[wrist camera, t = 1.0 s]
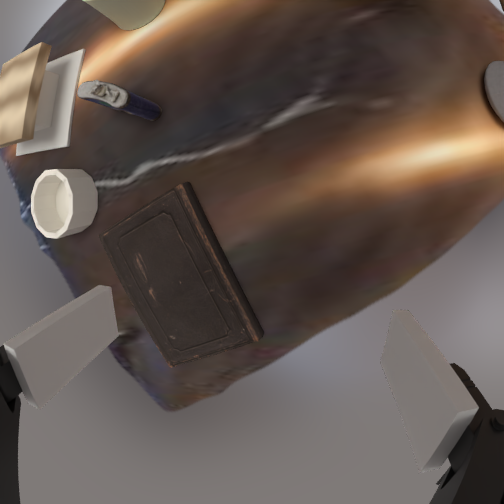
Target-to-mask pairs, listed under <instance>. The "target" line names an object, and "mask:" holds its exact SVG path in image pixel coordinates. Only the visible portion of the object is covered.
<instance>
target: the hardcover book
mask: <svg viewBox="0 0 504 504" xmlns="http://www.w3.org/2000/svg"><path fill="white" fill-rule="evenodd" d="M98 236H99V238H100V240H101V242H102V244H103V247H104V249H105V251H106V253H107V255H108V257H109V260H110V262H111V264H112V266H113V268H114V270H115V272H116V274H117V276H118V278H119V280H120V282H121V284H122V286H123V288H124V290H125V291H126V293H127V295H128V297H129V299H130V301H131V303H132V304H133V306H134V308H135V310H136V312H137V313H138V315H139V317H140V319H141V321H142V322H143V324H144V326H145V327H146V329H147V331H148V333H149V334H150V336H151V338H152V339H153V341H154V342H155V344H156V346H157V347H158V349H159V351H160V352H161V354H162V355H163V357H164V358H165V360H166V362H167V363H168V365H169V366H170V367H174V366H177V365H181V364H184V363H188V362H191V361H195V360H198V359H202V358H205V357H208V356H212V355H215V354H218V353H221V352H225V351H228V350H231V349H234V348H237V347H240V346H243V345H246V344H249V343H252V342H255V341H258V340H260V339H261V338H262V337H263V334H264V332H263V330H262V329H261V327H260V325H259V323H258V321H257V319H256V317H255V315H254V313H253V311H252V309H251V307H250V305H249V303H248V301H247V299H246V297H245V295H244V293H243V291H242V289H241V287H240V285H239V283H238V281H237V279H236V277H235V275H234V273H233V271H232V269H231V267H230V265H229V263H228V261H227V259H226V257H225V255H224V253H223V251H222V249H221V247H220V245H219V243H218V241H217V239H216V237H215V235H214V233H213V231H212V229H211V227H210V225H209V223H208V220H207V218H206V216H205V214H204V212H203V210H202V208H201V206H200V204H199V202H198V200H197V197H196V195H195V193H194V191H193V189H192V187H191V185H190V183H189V182H185V183H183V184H180V185H179V186H177V187H175V188H173V189H172V190H170V191H168V192H166V193H165V194H163V195H161V196H160V197H158V198H156V199H155V200H153V201H151V202H150V203H148V204H146V205H145V206H143V207H141V208H140V209H138V210H137V211H135V212H133V213H132V214H130V215H129V216H127V217H125V218H124V219H122V220H121V221H119V222H118V223H116V224H115V225H113V226H112V227H110V228H109V229H107V230H106V231H104V232H103V233H101V234H100V235H98Z"/></svg>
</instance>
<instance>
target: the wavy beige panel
mask: <svg viewBox="0 0 504 504" xmlns="http://www.w3.org/2000/svg"><path fill="white" fill-rule="evenodd" d="M51 47H52V46H50V45H47V44H45V43H43V42H41V43H39V44H37V45H35V46H34V47H32V48H30V49H28V50H26V51H24V52H23V53H21V54H19V55H18V56H16V57H14V58H13V59H11V60H9V61H8V62H6V63H5V64H3V67H2V70H1V74H0V148H3V147H6V146H10V145H13V144H17V143H20V142H24V141H28V140H32V139H33V137H34V129H35V121H36V114H37V108H38V102H39V96H40V91H41V86H42V82H43V77H44V73H45V69H46V65H47V61H48V57H49V53H50V50H51Z"/></svg>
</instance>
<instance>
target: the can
mask: <svg viewBox="0 0 504 504" xmlns="http://www.w3.org/2000/svg"><path fill="white" fill-rule="evenodd" d="M82 1H85V2H86V3H88V4H89V5H91V6H92V7H94V8H95V9H97V10H98V11H99V12H101V13H102V14H104V15H105V16H106V17H108V18H109V19H110V20H112V21H113V22H114V23H115V24H117V26H118V27H119V28H121V29H123V30H134V29H138V28H140V27H142V26H144V25H146V24H148V23H149V22H151V21H152V20H153V19H154V18H155V17H156V16H157V15H158V14H159V13H160V12H161V10H162V9H163V6H164V4H165V0H82Z"/></svg>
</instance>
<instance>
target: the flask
mask: <svg viewBox="0 0 504 504" xmlns="http://www.w3.org/2000/svg"><path fill="white" fill-rule="evenodd" d="M77 93H78V97H79V98H81V99H84V100H88V101H92V102H95V103H98V104H101V105H104V106H107V107H110V108H112V109H114V110H118V111H125V112H127V113H129V114H133V115H137V116H141V117H143V118H146V119H148V120H151V121H153V120H156V119H158V118H159V116H160V114H161V110H162V109H161V108H160V106H158V105H157V104H156V103H154V102H152V101H150V100H148V99H144V98H142V97H140V96H138V95H136V94H134V93H132V92H130V91H127V90H126V89H123V88H121V87H119V86H117V85H115V84H112V83H108V82H102V81H98V80H96V81H95V80H94V81H87V82H84V83H82V84H81V85H80V87H79V88H78V92H77Z"/></svg>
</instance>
